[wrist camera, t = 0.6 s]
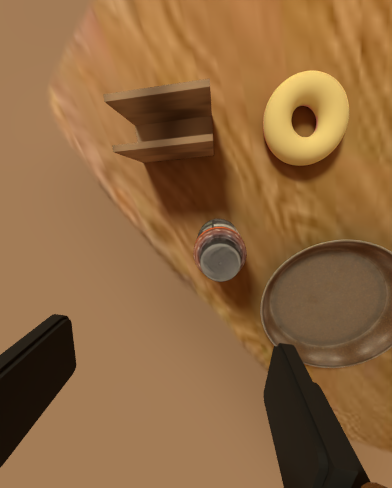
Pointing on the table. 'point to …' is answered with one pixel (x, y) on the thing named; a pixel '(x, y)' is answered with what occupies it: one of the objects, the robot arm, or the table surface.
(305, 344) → the plant saucer
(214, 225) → the supplement bottle
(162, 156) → the napkin holder
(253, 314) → the table surface
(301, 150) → the donut
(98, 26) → the table surface
